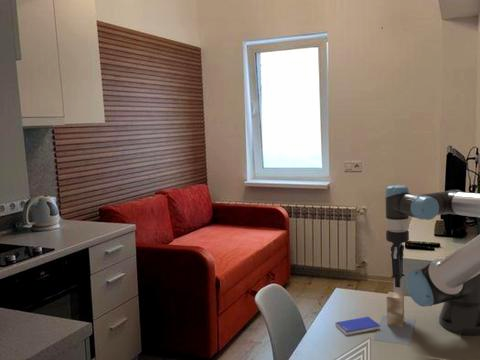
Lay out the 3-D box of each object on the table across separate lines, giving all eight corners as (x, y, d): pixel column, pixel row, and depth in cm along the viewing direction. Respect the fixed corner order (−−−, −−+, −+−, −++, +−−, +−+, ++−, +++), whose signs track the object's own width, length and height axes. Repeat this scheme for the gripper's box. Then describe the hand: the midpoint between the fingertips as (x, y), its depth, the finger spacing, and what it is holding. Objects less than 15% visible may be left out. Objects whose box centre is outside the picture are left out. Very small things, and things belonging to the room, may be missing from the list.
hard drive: (346, 331, 154) (380, 324, 157) (335, 321, 162) (367, 315, 165) (346, 335, 154) (380, 329, 157) (335, 326, 162) (367, 320, 165)
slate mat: (415, 320, 163) (415, 319, 163) (409, 346, 145) (409, 345, 145) (382, 316, 168) (382, 315, 168) (373, 341, 150) (373, 339, 150)
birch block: (404, 320, 163) (404, 293, 162) (402, 327, 158) (402, 298, 157) (389, 318, 165) (388, 291, 164) (387, 325, 160) (386, 296, 159)
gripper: (389, 225, 171) (390, 287, 174) (382, 233, 160) (384, 300, 163) (410, 226, 168) (411, 289, 171) (406, 234, 157) (406, 302, 159)
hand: (398, 294), depth 167 cm, fingers closed
